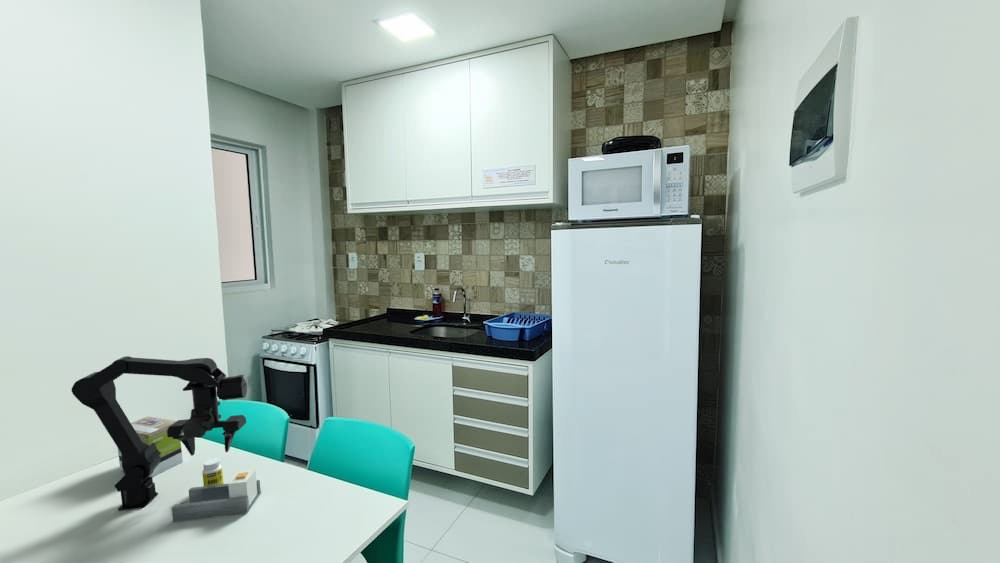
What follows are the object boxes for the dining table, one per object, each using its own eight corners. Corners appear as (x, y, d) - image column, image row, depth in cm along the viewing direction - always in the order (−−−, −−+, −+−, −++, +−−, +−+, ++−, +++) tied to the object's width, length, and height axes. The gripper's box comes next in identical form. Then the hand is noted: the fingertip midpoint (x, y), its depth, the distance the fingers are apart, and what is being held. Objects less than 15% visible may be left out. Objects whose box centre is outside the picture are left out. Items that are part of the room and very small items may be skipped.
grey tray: (173, 522, 108) (171, 507, 107) (192, 501, 116) (191, 487, 116) (247, 512, 111) (246, 498, 110) (260, 492, 119) (259, 479, 119)
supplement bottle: (207, 495, 119) (204, 467, 118) (201, 489, 122) (198, 462, 121) (226, 487, 123) (223, 460, 122) (220, 481, 126) (217, 455, 125)
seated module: (230, 508, 111) (227, 481, 110) (240, 494, 117) (238, 469, 116) (248, 505, 112) (246, 479, 111) (257, 492, 118) (255, 467, 117)
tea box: (118, 472, 133) (113, 428, 132) (152, 456, 143) (148, 415, 141) (151, 478, 129) (146, 433, 127) (184, 462, 138) (179, 419, 137)
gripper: (151, 416, 110) (156, 471, 112) (227, 410, 113) (231, 464, 115) (176, 401, 121) (181, 451, 123) (244, 395, 124) (248, 445, 126)
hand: (210, 453), depth 121 cm, fingers open, 9 cm apart
